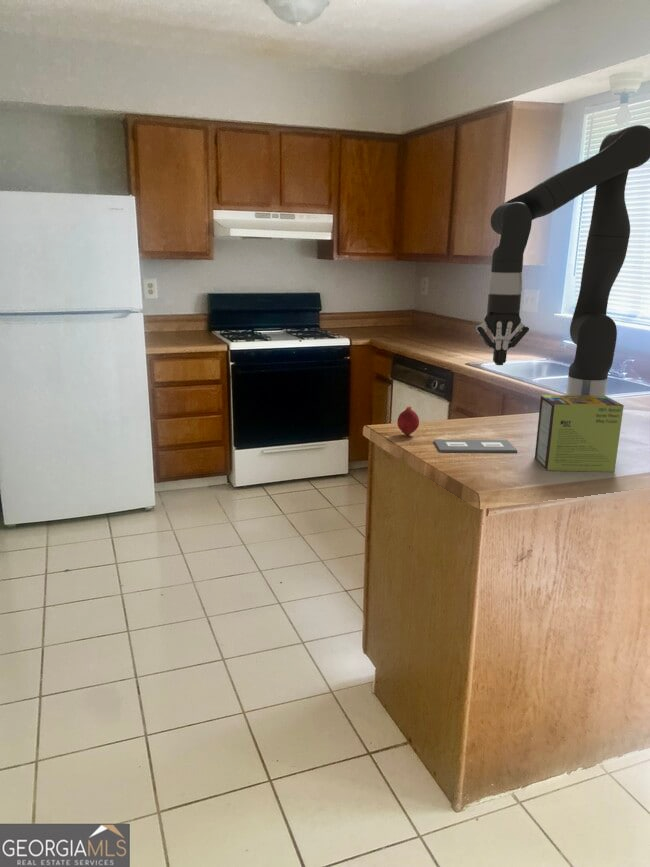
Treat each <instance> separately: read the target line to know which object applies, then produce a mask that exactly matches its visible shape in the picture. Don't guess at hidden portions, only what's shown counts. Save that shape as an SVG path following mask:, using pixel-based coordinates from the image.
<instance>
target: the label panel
mask: <svg viewBox="0 0 650 867" xmlns="http://www.w3.org/2000/svg"><path fill="white" fill-rule="evenodd" d="M433 443H434V445H436V448H437V449H438V452H440V453H518V449H516V447H515V446H514V445H513V444H512V443H511V442H510V441H509V440H508V439H436V438H435V439H433Z"/></svg>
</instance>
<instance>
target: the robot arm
mask: <svg viewBox="0 0 650 867" xmlns="http://www.w3.org/2000/svg"><path fill="white" fill-rule="evenodd" d="M649 160H650V127H648V126H646V125H644V124H631V125H628V126H625V127H621V128H616V129H614V130H612V131H610V132H609V133H607V135H605V137H604V138H603V140H602V141H601V143H600V146H599V150H598V153H596V154H593V155H592V156H590V157H588V158H587V159H584V160H583V161H581V162H579V163H576V164H574V165H572V166H569V167H568V168H565V169H563V170H562V171H558V172H557V173H555V174H553V175H552V176H550V177H548V178H547V179H545V180H543V181H541V182H539V184H537V185H535V186H534V187H533V188H531V189H530V190H528V191H526V192H524V193H522V194H519V195H517V196H515V197H513V198H510V199H509V200H507V201H505V202H503V203H502V204H500V205H499V206H497V207H496V208H495V209H494V210H493V212H492V214H491V216H490V227H491V229H492V230H493V231H494V232H495V233H496V234H498V235H500V238H499V244H498V246H496V247H495V248H494V250H493V251H492V252H493V253H492V255H491V258H492V259H491V271H490V277H489V283H488V294H487V308H486V316H485V317H484V320H483V322H482V323H480V324H478V325H476V326H475V331H476V332H477V334H478V335H479V336H480V338H481V340H483V342H484V344H485V345H486V346H487V347H489V348H492V349H493V355H492V361H493V363H494V364H495V365H496V366H503V365H504V364H505V363H506V362H507V355H508V350H509V349H512V348H515V347H516V346H517V345H518V343H519V342H520V341H521V340H522V339H523V338H524V336H526V334H527V333H528V332H529V331H530V328H529V326H527V325H525V324H523V323H522V320H521V316H520V312H521V311H520V310H521V302H522V300H521V299H522V292H523V265H524V253H525V250H526V247H527V245H528V241H529V238H530V234H531V231H532V224H533V221H534V220H536V219H538V218H541V217H545V216H547V215H549V214H551V213H553V212H555V211H557V210H558V209H559V208H561V207H563V206H565V205H566V204H568V203H569V202H571V201H573V200H574V199H576V198H577V197H579V196H581V195H583V194H584V193H586V192H587V191H589V190H591V189H592V188H594V187H595V193H594V200H593V206H592V210H591V211H592V212H591V218H590V224H589V229H588V234H587V235H588V236H587V240H586V245H585V246H586V247H585V251H584V261H583V266H582V271H581V280H580V287H579V293H578V298H577V301H576V304H575V308H574V312H573V315H572V318H571V322H570V326H569V336H570V339H571V341H572V342H573V343H574V345H576V348H575V356H574V360H573V362H572V363H571V364H570V365H569V368H568V374H567V375H568V377H567V385H566V392H565V393H566V394H565V395H587V396H599V395H600V396H606V391H607V383H608V377H609V372H610V371H611V369H612V366H613V361H614V358H615V357H614V356H615V351H616V344H617V339H618V338H617V337H618V329H617V325H616V322H615V321H614V319H613V318H611V317H610V316H609V315H607V313H608V312H607V311H608V304H609V303H608V302H609V298H610V293H611V290H612V288H613V287H614V286H613V285H614V283H615V282H616V279H617V277H618V275H619V274H620V271H621V269H622V267H623V265H624V263H625V259H626V256H627V251H628V248H629V241H630V236H631V222H630V217H629V213H628V209H627V204H626V198H625V196H626V195H625V193H626V192H625V191H626V185H627V180H628V175H629V172H630V170H632V169H636V168H638V167H641V166H643V165H644V164H646V163H647V162H648V161H649ZM487 328H488V329H487ZM488 330H489V331H490V333H491V334H492V339H491V338H490V336H489V335H488V334H487V331H488ZM515 330H516V333H515V334H514V335H513V336H512V337H511V335H512V334H513V333H514V332H515Z"/></svg>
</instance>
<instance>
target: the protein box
mask: <svg viewBox="0 0 650 867" xmlns="http://www.w3.org/2000/svg"><path fill="white" fill-rule="evenodd" d="M539 401H540V402H539V411H538V420H537V421H538V422H537V429H536V430H537V432H536V441H535V451H534V452H535V453H534V458H535V459H536V460H537V461H538V462H539V463H540V464H541V465H542V467H543V468H544V469H546V471H550V472H551V471H552V472H553V471H557V472H559V471H560V472H561V471H562V472H595V473H596V472H598V473H601V472H603V473H604V472H606V473H607V472H609V473H613V472H615V471H616V465H617V464H616V463H617V459H618V458H617V457H618V450H619V443H620V434H621V429H622V428H621V427H622V421H623V414H624V407H625V406H624V404H622V403H620V402H618V401H616V400H614V399H612V398H610V397H609V396H607V395H605V396H600V395H599V396H587V395H566V394H561V395H560V394H541V395H540V400H539Z"/></svg>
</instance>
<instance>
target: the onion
mask: <svg viewBox="0 0 650 867" xmlns="http://www.w3.org/2000/svg"><path fill="white" fill-rule="evenodd" d="M396 423H397V428H398V429H399V430H400V431H401V432H402V434H404V435H405V436H410V435H411V434H413V433H414V432H416V431H417V429H419V425H420V418H419V415H418V414H417V412H415V411H414V410H413V409H412V407H411V405H408V406H407V407H406V409H404V410H403V411H402V412H400V414H399V415H398V418H397V420H396Z"/></svg>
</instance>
